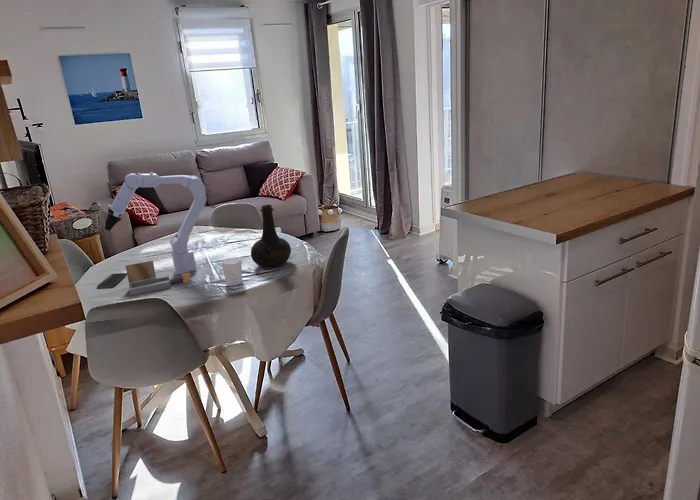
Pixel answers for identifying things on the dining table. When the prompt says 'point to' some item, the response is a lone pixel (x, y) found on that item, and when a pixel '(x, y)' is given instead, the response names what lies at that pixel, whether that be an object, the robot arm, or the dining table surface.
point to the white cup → (232, 271)
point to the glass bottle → (270, 244)
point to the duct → (149, 285)
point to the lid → (140, 271)
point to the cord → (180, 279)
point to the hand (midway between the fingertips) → (107, 227)
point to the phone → (112, 280)
